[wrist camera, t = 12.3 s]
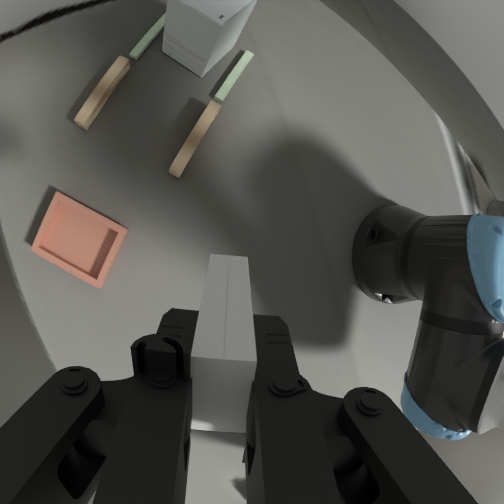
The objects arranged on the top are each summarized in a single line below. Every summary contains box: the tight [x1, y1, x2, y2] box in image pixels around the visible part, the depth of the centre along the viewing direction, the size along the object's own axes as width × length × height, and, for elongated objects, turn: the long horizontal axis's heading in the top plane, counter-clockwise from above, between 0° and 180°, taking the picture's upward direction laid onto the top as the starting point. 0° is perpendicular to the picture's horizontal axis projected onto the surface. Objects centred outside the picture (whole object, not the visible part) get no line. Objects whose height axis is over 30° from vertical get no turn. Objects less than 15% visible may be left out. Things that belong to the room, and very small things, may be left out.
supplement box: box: [162, 0, 257, 78], centre depth 31 cm, size 7×7×13 cm
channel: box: [74, 56, 222, 178], centre depth 35 cm, size 10×15×2 cm, turn 62°
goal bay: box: [129, 13, 254, 103], centre depth 36 cm, size 9×14×1 cm, turn 62°
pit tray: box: [31, 191, 129, 289], centre depth 34 cm, size 8×10×2 cm
